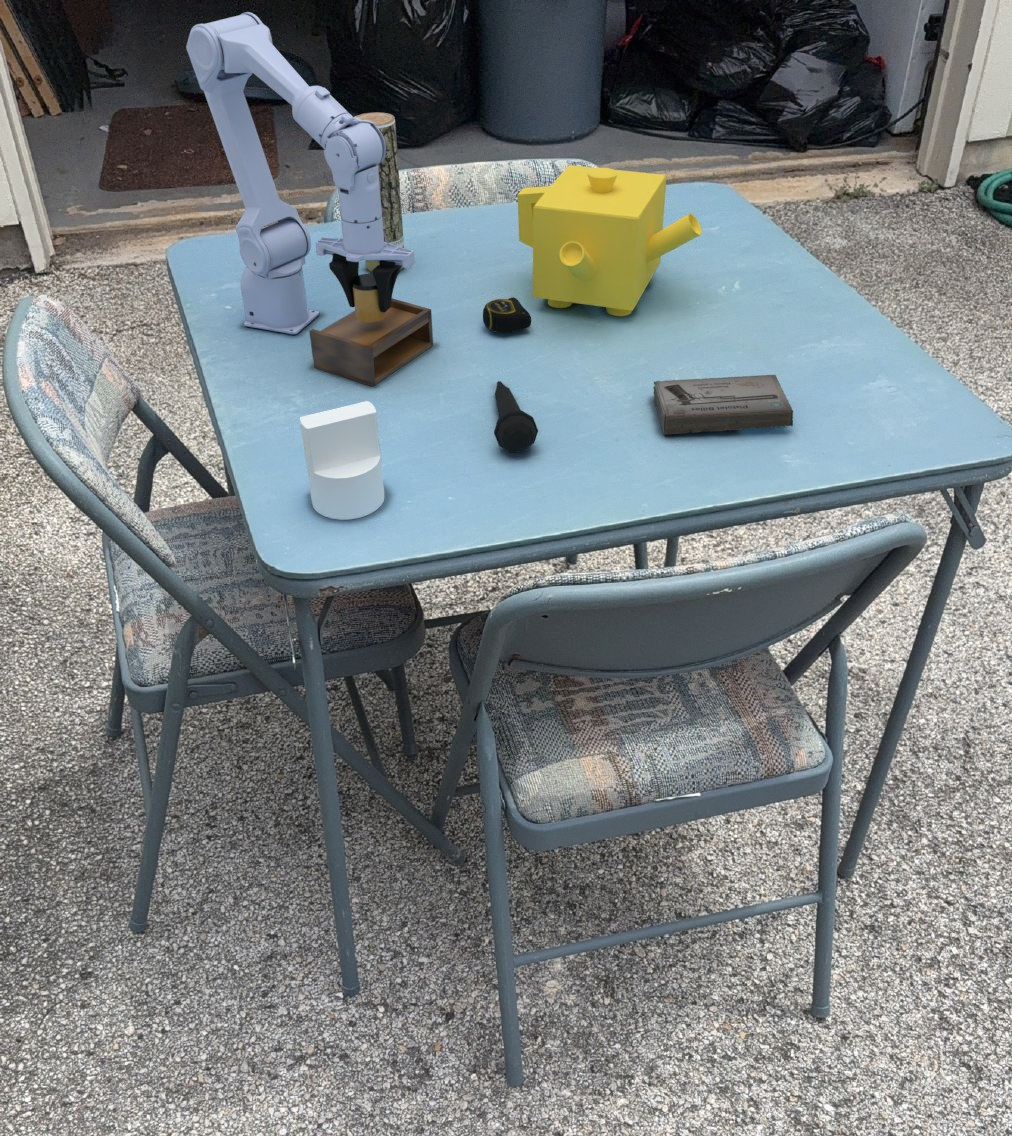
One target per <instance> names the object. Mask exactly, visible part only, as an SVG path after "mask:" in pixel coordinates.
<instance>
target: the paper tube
mask: <svg viewBox="0 0 1012 1136" xmlns="http://www.w3.org/2000/svg"><path fill="white" fill-rule="evenodd" d="M353 117H354V118H355V117H356V118H357V117H358V118H359V119H361V120H369V121H372V122H373V123H374V124H375V125H376V127H377V128H378V129H379V130H380V132H381V133H382V135H383V138H384V140H385V145H386V154H385V157H384V159H383V161H382V162H381V163H379V164H377V165H378V172H379V184H380V196H381V208H382V221H383V233H384V242H387V243H390V244H393V245H396V246H398V247H401V248H404V249H405V239H404V226H403V225H404V223H403V212H402V211H403V209H402V196H401V184H400V183H401V182H400V171H399V170H400V169H399V156H398V142H397V140H398V139H397V128H396V119H395V116H394V115H393V114H391V113H386V112H366V113H361V114H358V115H355V116H353ZM377 165H376V166H377ZM373 167H374V166H373ZM378 265H380V264H379V262H375V261H368V260H365V267H366V269H367V271H369V272H371V273H372V270H373V269H374V268H375V267H377V266H378ZM403 269H404V268H403V267H401V269H400V271H402V270H403Z"/></svg>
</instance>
